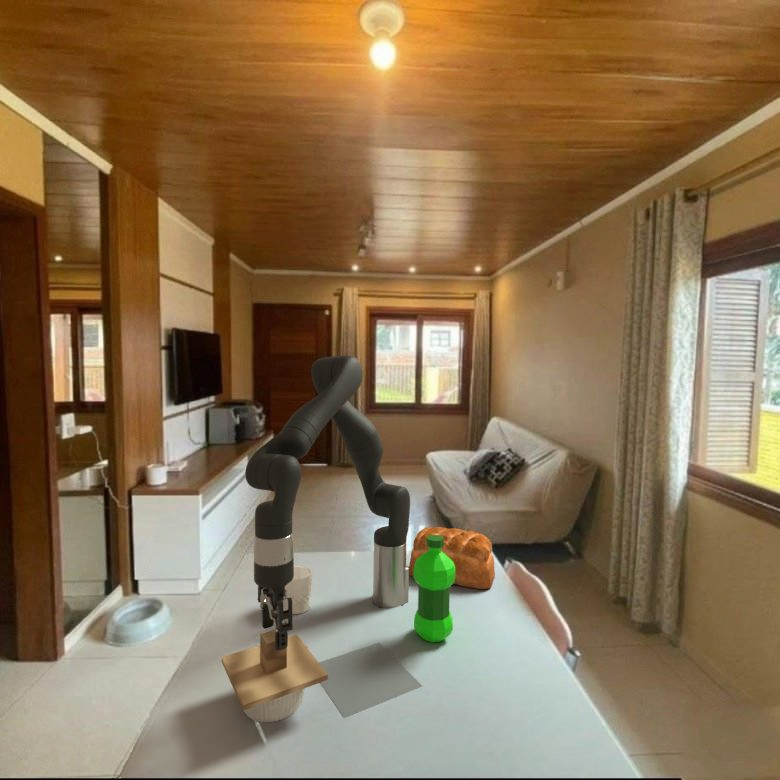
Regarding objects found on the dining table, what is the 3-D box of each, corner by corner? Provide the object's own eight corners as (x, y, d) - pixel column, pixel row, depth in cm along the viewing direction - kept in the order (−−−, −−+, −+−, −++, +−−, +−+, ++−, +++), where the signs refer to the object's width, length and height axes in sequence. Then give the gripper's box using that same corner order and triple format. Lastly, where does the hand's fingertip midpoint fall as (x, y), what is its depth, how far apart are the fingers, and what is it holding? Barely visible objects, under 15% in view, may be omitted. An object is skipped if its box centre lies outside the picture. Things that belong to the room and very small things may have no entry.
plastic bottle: (403, 637, 117) (405, 537, 116) (430, 621, 125) (432, 527, 124) (436, 655, 110) (438, 549, 109) (462, 636, 118) (464, 537, 117)
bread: (490, 593, 141) (492, 542, 141) (405, 579, 150) (406, 530, 149) (496, 574, 155) (497, 527, 154) (417, 562, 163) (418, 517, 162)
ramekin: (272, 740, 85) (272, 702, 85) (222, 711, 92) (222, 676, 91) (320, 697, 96) (320, 663, 96) (273, 674, 103) (273, 643, 103)
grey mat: (379, 644, 114) (379, 642, 114) (422, 688, 99) (422, 685, 99) (308, 668, 105) (308, 665, 105) (343, 720, 90) (343, 717, 90)
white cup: (276, 611, 129) (276, 575, 128) (293, 598, 136) (293, 564, 136) (301, 618, 126) (302, 581, 125) (317, 604, 133) (317, 569, 133)
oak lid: (297, 638, 105) (297, 607, 104) (327, 679, 91) (328, 644, 91) (221, 661, 96) (221, 627, 96) (243, 710, 83) (243, 671, 82)
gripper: (305, 565, 88) (305, 650, 89) (280, 540, 100) (281, 615, 101) (265, 574, 84) (266, 663, 85) (244, 547, 97) (245, 625, 97)
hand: (274, 637), depth 93 cm, fingers open, 8 cm apart
